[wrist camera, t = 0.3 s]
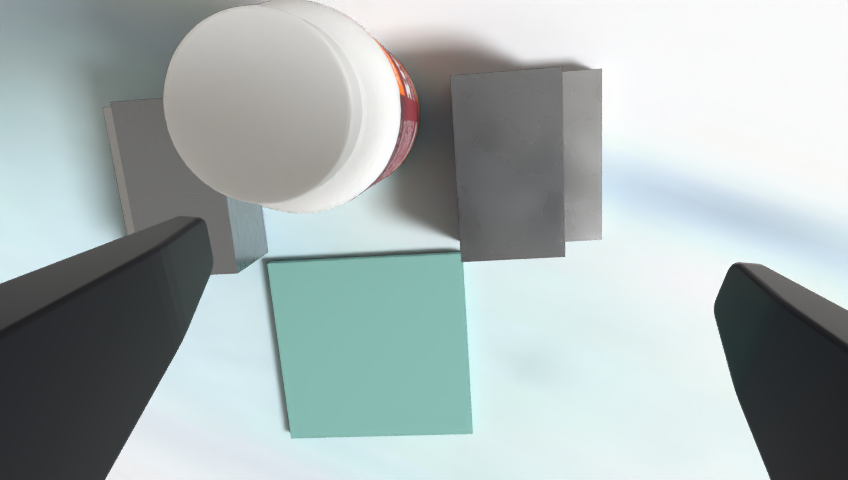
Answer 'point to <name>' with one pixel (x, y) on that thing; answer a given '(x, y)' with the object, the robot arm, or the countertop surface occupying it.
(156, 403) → the countertop surface
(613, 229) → the countertop surface
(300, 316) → the mat
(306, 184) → the pill bottle
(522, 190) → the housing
